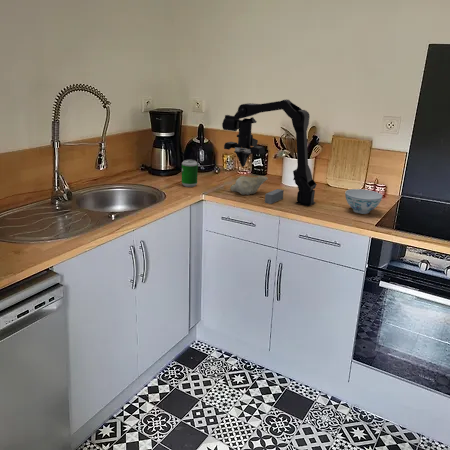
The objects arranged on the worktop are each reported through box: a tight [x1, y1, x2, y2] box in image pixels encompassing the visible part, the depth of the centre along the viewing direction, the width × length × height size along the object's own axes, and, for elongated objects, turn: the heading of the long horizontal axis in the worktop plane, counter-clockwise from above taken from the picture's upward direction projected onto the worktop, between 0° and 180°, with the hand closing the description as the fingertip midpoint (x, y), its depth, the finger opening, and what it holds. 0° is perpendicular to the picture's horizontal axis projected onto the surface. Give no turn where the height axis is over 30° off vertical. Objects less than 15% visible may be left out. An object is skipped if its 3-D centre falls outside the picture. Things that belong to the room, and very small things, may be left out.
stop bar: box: [264, 188, 284, 205], centre depth 203 cm, size 3×11×4 cm, turn 145°
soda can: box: [181, 159, 199, 188], centre depth 220 cm, size 8×8×12 cm
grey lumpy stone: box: [230, 175, 268, 196], centre depth 212 cm, size 15×7×15 cm
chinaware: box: [344, 188, 383, 215], centre depth 193 cm, size 15×15×8 cm
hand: (242, 166), depth 211 cm, fingers closed
